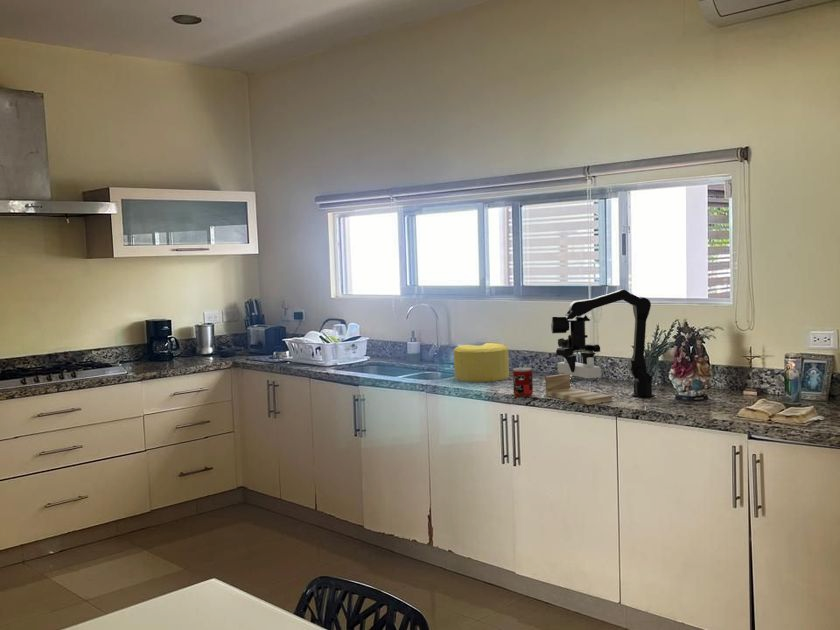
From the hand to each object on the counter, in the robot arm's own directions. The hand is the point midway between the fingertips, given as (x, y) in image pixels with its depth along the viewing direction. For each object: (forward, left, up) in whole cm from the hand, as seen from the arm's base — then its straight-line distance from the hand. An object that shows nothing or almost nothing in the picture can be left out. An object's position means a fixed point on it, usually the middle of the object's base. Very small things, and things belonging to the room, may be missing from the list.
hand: (578, 371), depth 316 cm
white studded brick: (0, 0, -1) cm, 1 cm away
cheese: (+71, -3, -11) cm, 72 cm away
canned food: (+22, +11, -11) cm, 27 cm away
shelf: (0, 0, -11) cm, 11 cm away
